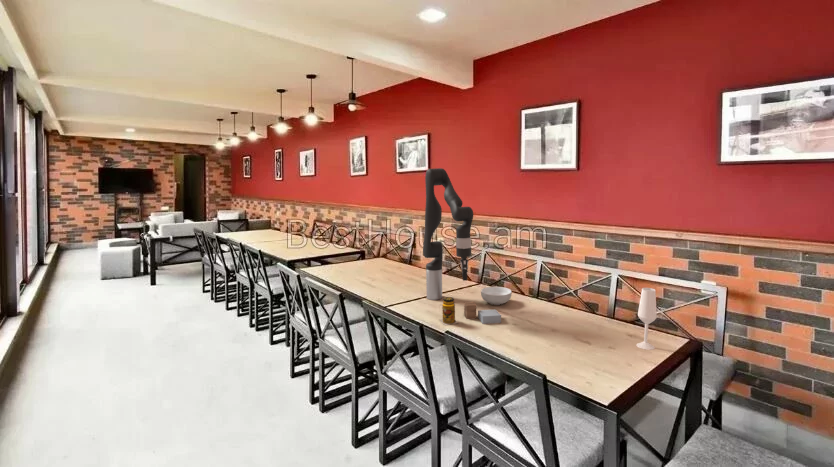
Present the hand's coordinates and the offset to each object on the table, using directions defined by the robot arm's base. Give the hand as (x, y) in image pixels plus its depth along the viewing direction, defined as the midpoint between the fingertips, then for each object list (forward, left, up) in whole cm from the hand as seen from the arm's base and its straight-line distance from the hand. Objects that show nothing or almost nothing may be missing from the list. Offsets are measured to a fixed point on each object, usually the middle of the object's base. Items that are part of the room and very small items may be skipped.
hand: (464, 278), depth 211 cm
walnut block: (+3, +2, -19) cm, 20 cm away
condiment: (+7, -10, -20) cm, 23 cm away
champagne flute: (+51, +63, -19) cm, 83 cm away
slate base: (+9, +10, -20) cm, 24 cm away
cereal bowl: (-17, +22, -20) cm, 34 cm away
